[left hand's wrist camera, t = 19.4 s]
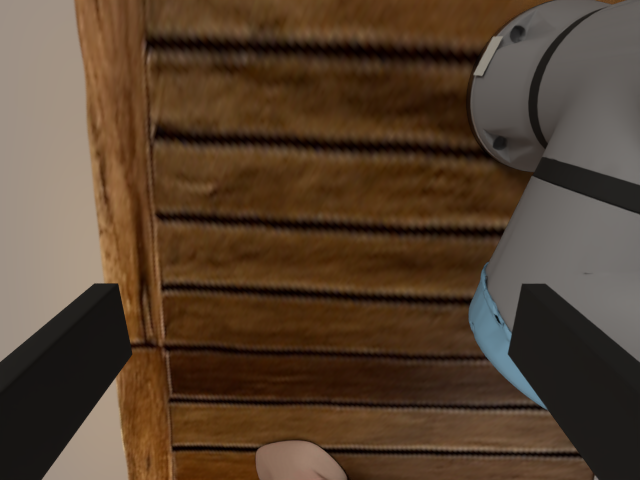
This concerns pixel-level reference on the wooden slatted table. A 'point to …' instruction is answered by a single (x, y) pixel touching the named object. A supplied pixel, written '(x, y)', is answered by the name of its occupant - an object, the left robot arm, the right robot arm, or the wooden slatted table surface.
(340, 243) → the wooden slatted table surface
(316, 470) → the anatomical model
